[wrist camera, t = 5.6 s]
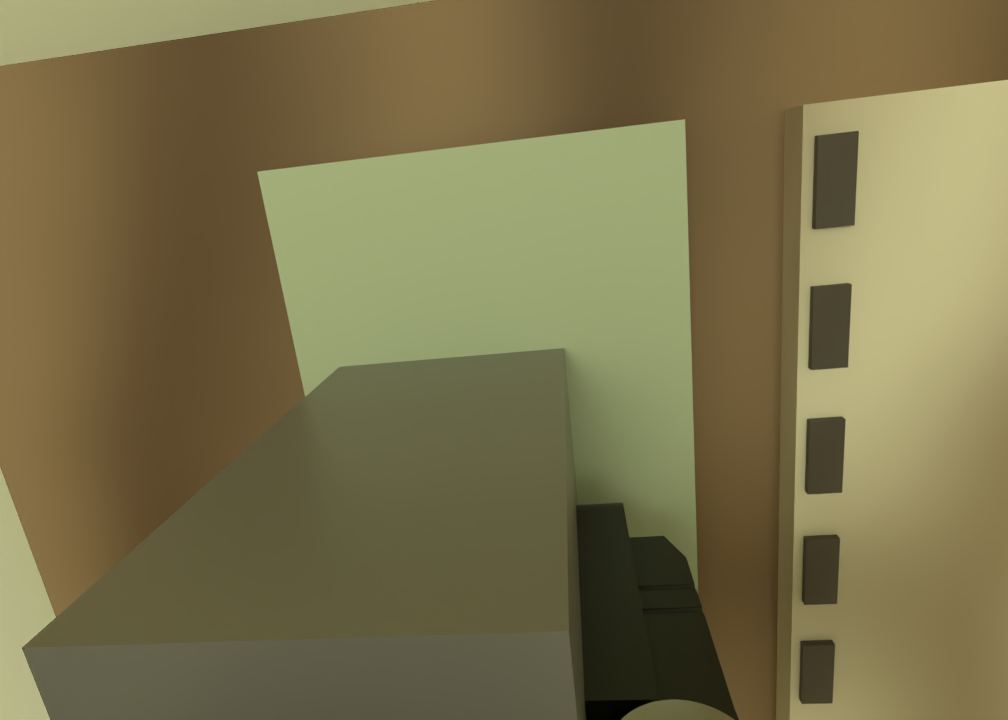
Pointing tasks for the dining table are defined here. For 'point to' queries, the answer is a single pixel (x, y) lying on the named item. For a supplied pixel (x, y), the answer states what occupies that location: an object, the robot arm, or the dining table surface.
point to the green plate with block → (421, 449)
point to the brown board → (713, 294)
